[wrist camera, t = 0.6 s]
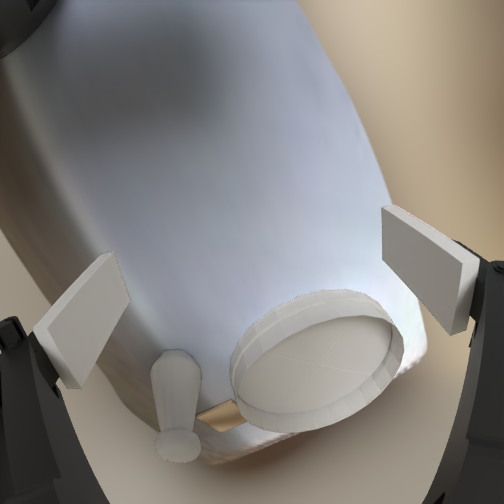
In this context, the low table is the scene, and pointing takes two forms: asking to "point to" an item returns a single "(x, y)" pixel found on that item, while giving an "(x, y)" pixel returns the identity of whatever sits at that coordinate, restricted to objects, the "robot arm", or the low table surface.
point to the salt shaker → (176, 405)
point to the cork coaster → (223, 416)
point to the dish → (314, 361)
